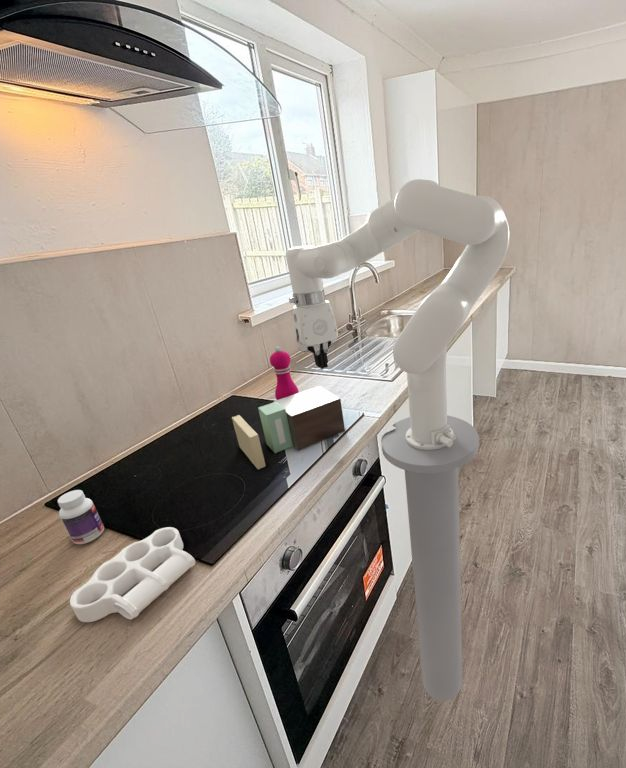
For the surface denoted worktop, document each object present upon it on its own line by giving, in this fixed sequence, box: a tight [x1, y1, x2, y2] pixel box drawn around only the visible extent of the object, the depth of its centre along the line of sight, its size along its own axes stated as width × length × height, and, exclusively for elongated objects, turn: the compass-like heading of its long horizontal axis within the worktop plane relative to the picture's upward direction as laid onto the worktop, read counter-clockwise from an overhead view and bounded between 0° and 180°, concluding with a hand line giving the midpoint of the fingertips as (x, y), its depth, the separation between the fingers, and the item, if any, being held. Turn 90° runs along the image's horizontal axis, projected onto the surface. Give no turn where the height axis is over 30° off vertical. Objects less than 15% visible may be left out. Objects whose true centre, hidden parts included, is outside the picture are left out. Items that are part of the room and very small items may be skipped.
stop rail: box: [231, 414, 267, 470], centre depth 103 cm, size 14×2×9 cm, turn 37°
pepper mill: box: [269, 346, 300, 400], centre depth 126 cm, size 7×7×20 cm
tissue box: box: [257, 401, 294, 454], centre depth 107 cm, size 11×6×5 cm
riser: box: [272, 385, 346, 451], centre depth 112 cm, size 12×14×10 cm
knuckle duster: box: [69, 526, 197, 623], centre depth 71 cm, size 3×18×15 cm
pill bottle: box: [57, 489, 105, 545], centre depth 81 cm, size 5×5×10 cm
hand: (322, 366), depth 110 cm, fingers closed
